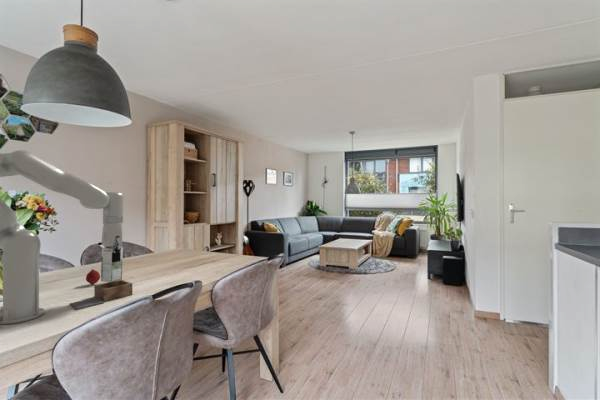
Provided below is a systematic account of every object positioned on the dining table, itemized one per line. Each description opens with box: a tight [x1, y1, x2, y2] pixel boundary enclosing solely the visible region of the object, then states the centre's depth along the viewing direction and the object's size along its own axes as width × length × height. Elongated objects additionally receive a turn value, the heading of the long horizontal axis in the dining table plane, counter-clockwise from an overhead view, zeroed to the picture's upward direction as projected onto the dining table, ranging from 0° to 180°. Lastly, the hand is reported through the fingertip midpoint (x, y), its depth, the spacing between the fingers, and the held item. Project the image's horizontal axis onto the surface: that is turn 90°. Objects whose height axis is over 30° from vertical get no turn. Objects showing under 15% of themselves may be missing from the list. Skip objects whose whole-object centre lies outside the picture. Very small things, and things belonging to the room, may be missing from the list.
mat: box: [69, 297, 105, 311], centre depth 120 cm, size 9×9×1 cm
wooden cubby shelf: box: [93, 279, 133, 303], centre depth 130 cm, size 11×11×5 cm
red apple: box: [85, 268, 101, 286], centre depth 147 cm, size 6×6×8 cm
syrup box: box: [100, 246, 124, 283], centre depth 130 cm, size 6×6×14 cm
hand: (112, 260), depth 130 cm, fingers closed on syrup box, 7 cm apart
